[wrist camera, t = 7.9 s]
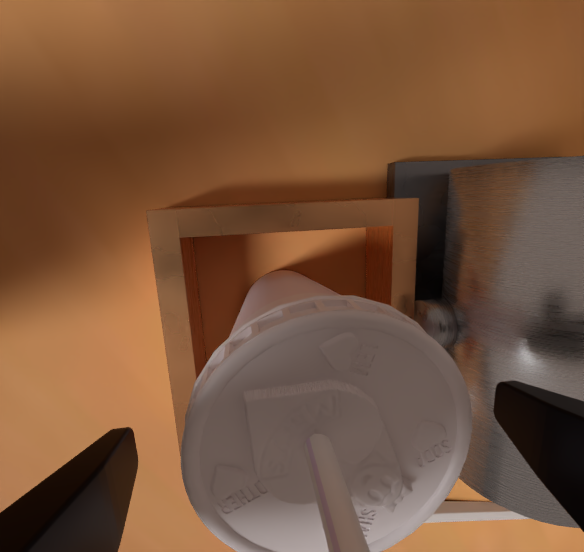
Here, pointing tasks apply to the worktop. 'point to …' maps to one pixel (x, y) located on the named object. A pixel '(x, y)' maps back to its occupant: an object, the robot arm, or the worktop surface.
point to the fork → (471, 512)
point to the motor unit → (433, 286)
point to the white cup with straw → (322, 424)
